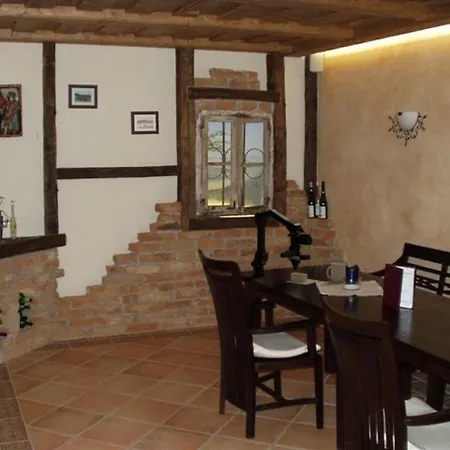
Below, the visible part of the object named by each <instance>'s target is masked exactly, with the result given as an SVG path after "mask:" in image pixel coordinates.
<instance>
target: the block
mask: <svg viewBox="0 0 450 450" xmlns="http://www.w3.org/2000/svg"><path fill="white" fill-rule="evenodd" d="M307 279H308V273H303V272H292V273H290V281H291V280H293V281H300V282H305V281H307Z"/></svg>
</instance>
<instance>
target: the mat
mask: <svg viewBox="0 0 450 450" xmlns="http://www.w3.org/2000/svg"><path fill="white" fill-rule="evenodd" d="M316 281H319V280H316V279H310V278H307V281H305V282H300V281H293V280H291V279H290V280H288V281H286V283H291V284H298V285H304V286H307V285H311V284H315V282H316ZM316 283H317V282H316Z"/></svg>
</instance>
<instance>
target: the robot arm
mask: <svg viewBox="0 0 450 450" xmlns="http://www.w3.org/2000/svg"><path fill="white" fill-rule="evenodd" d="M253 217H254V223H255V225H256V231H257V232H256V251H255V252H254V257H253V260H251V262H250V266H251V267H252V274H251V275H252V277H256V278H257V277H258V278H260V277H265V276H266V274H265V266H266V264H267V262H268V260H269V255H270V254H269V251H268V252H267V251H266V226H267V223H268V219H270V218H272V219H274V220H276V221H277V222H279V223H280V224H281V225H283V226H284V227H285V229H286V230H287V231H288V232H289V233H288V234H287V235H286V237H288V238H289V239H290V240H289V242H290V243H289V244H290V245H289V246H288V249H287V250H285V251H284V252H281V253H280V254H279V257H280V258H282V259H287V260H288V261H289V262H290V263H291V265H292V268H293V270H294V271H297V270H298V268H299V266H300V263H301V261H308V260H309V261H310V260H311V255H310V254H309V253H308V254H307V253H303V254H302V252H301V248H302V246H309V247H310V246H311V245H312V244H313V237H312V236H311V233H306V232H305V231H304V229H303V227H302V224H301V223H299V222H297V221H294V220H291V219H289V218H288V217H286V216H285V215H283V214H282V213H280V212H278V211H277V210H276V209H274V208H273V209H268V210H266V211H256V212H255V214H254V216H253Z"/></svg>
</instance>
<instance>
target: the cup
mask: <svg viewBox="0 0 450 450" xmlns="http://www.w3.org/2000/svg"><path fill="white" fill-rule="evenodd" d="M330 265H331V266H330ZM330 265H329V266H328V267H327V268H326V276H327V278H328V279H330V280H331V281H332V282H334V281H336V282H335V283H342V282H341V281H342V278H343V277H345V278H346V263H345V262H331V264H330ZM329 270H330V271H331V272H330V271H329ZM329 272H330V273H331V274H329ZM330 275H331V276H330Z"/></svg>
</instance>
